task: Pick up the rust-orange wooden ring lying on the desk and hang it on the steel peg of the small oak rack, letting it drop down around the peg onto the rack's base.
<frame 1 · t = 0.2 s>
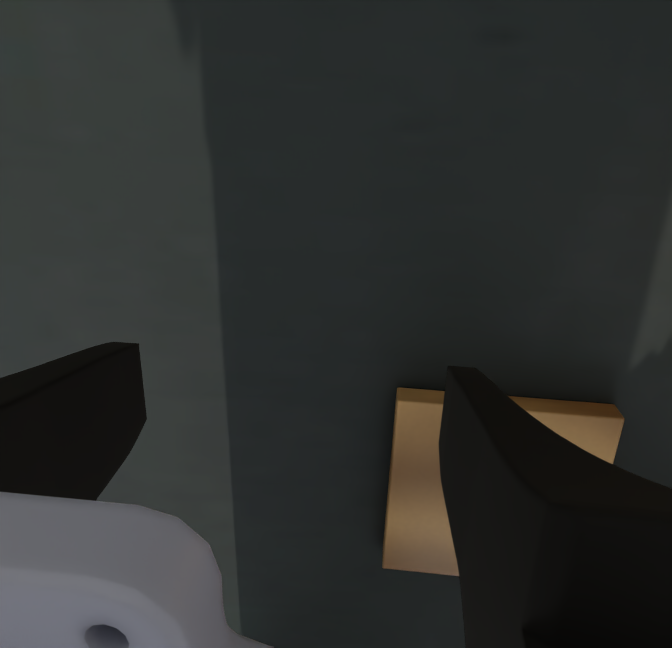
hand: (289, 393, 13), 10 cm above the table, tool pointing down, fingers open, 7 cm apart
rack: (489, 482, 25), on the table
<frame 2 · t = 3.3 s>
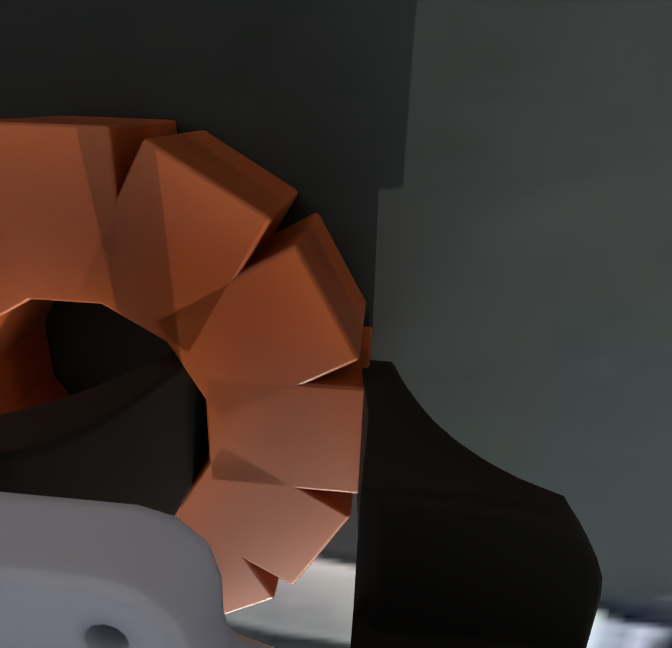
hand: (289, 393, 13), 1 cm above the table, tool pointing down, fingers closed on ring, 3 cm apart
ring: (146, 355, 14), on the table, touching gripper
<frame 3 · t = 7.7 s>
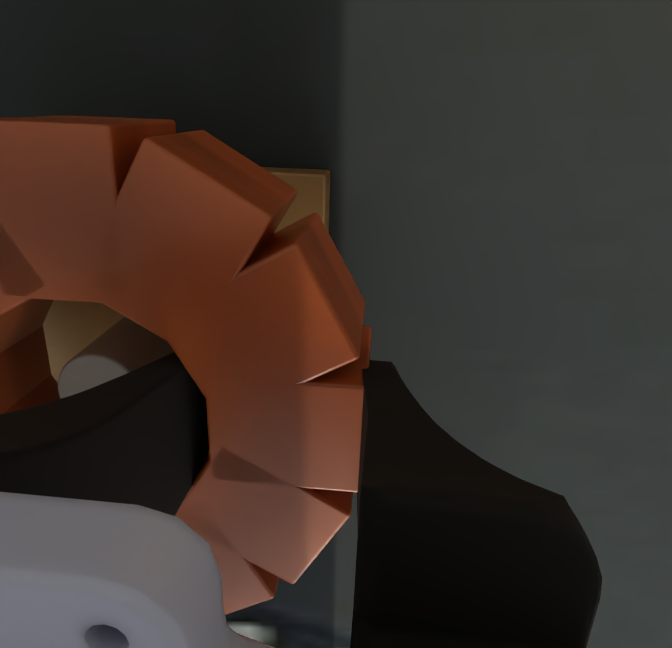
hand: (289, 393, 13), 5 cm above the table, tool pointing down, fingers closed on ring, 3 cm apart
ring: (145, 356, 14), point 4 cm above the table, touching gripper
rack: (186, 308, 18), on the table
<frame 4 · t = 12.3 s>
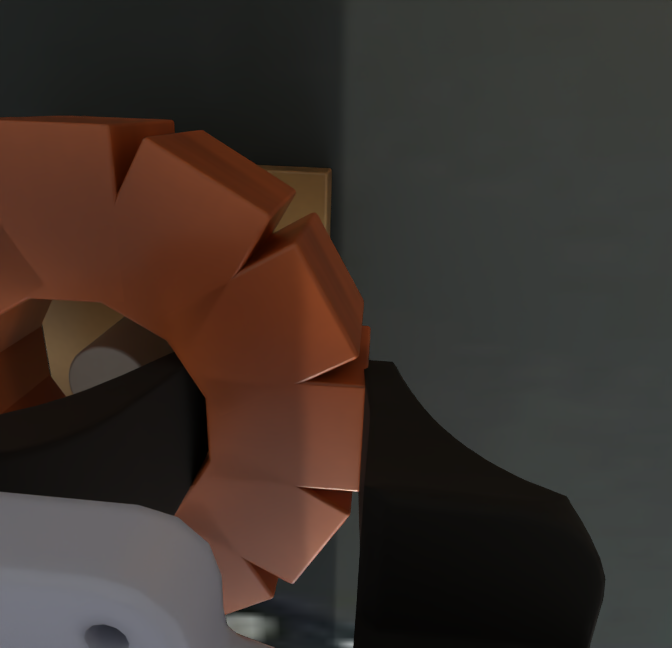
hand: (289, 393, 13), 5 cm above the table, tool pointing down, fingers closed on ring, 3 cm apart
ring: (143, 356, 14), point 4 cm above the table, touching gripper
rack: (191, 303, 18), on the table
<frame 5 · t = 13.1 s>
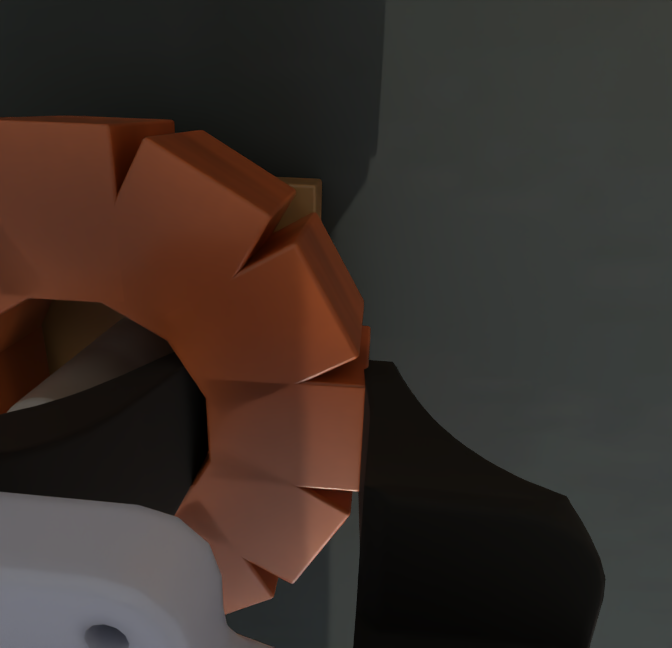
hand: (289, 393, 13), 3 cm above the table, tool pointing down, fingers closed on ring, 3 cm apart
ring: (143, 356, 14), point 2 cm above the table, touching gripper
rack: (162, 331, 16), on the table
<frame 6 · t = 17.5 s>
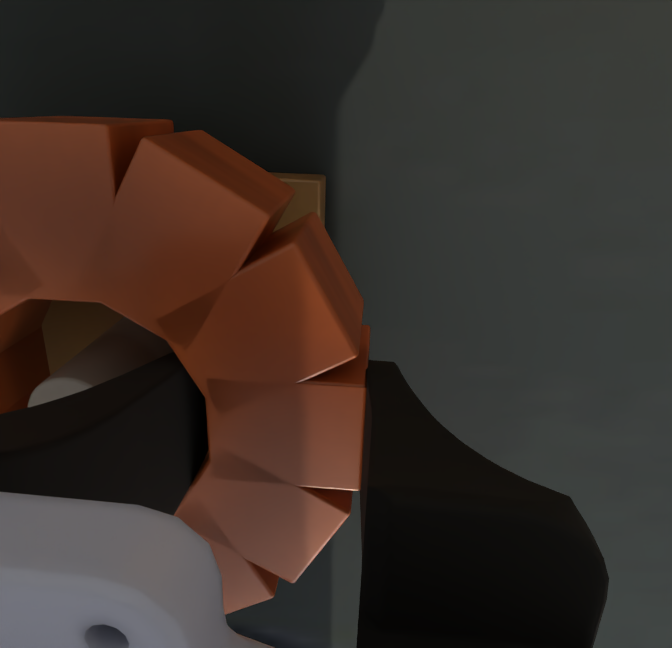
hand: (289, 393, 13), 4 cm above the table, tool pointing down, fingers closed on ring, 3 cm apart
ring: (143, 356, 14), point 3 cm above the table, touching gripper
rack: (173, 321, 17), on the table
when the fingers open (6 cm above the table, at t = 21.2 s): ring drops 4 cm, resting on rack.
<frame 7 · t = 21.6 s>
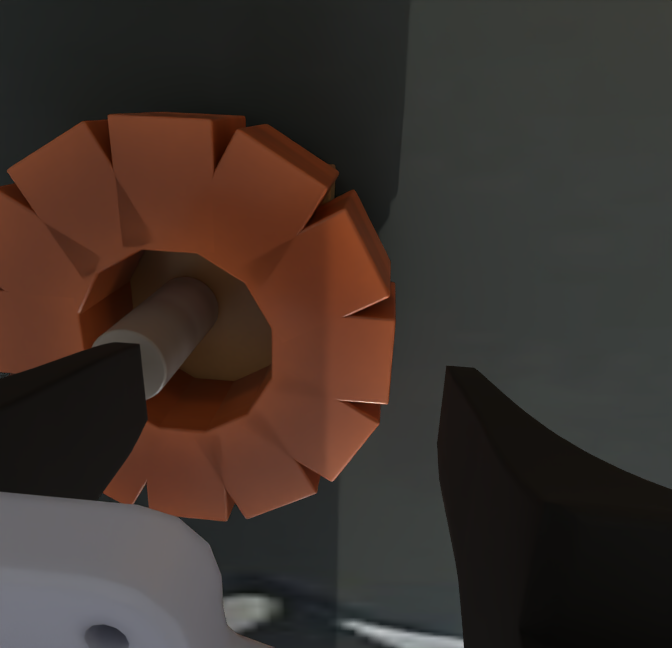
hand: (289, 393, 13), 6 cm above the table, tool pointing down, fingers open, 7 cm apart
ring: (211, 306, 18), point 1 cm above the table, touching rack
rack: (200, 294, 19), on the table
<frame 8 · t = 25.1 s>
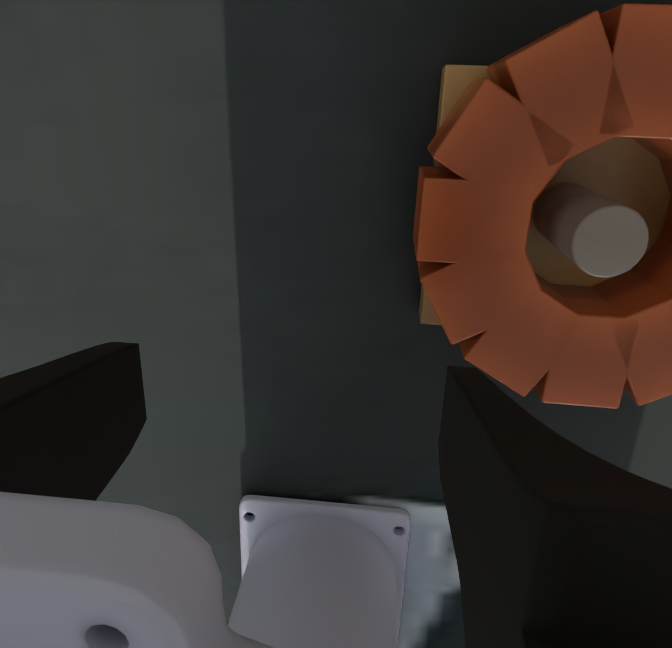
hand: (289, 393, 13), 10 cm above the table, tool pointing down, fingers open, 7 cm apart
ring: (585, 212, 19), point 1 cm above the table, touching rack
rack: (554, 206, 20), on the table
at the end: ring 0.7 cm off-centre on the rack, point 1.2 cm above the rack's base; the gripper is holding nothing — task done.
